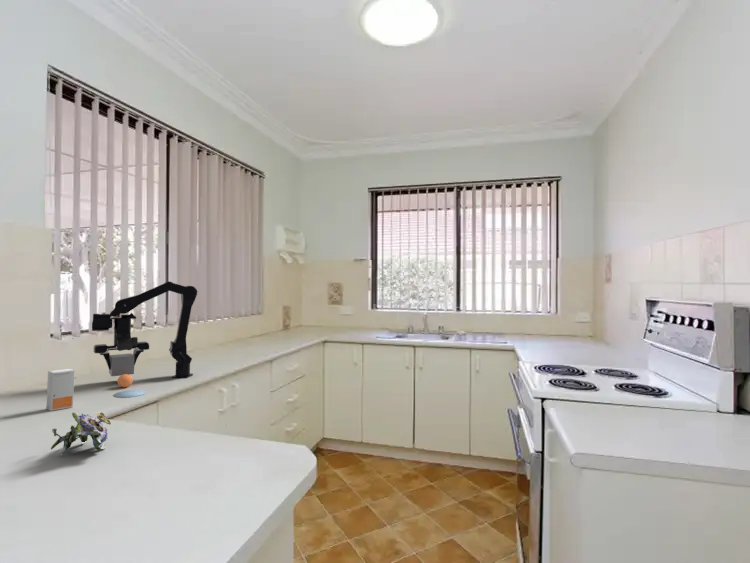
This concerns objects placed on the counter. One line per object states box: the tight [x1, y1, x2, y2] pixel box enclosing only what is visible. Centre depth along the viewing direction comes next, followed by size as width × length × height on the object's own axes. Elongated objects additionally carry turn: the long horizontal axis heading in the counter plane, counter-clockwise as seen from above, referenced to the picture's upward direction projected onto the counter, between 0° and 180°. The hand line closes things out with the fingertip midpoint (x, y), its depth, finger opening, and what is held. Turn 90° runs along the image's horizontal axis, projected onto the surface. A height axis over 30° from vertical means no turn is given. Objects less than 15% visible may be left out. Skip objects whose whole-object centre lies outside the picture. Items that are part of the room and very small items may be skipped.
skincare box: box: [45, 368, 75, 412], centre depth 129 cm, size 6×4×12 cm
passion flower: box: [50, 412, 112, 455], centre depth 96 cm, size 11×11×12 cm
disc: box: [113, 389, 147, 399], centre depth 147 cm, size 10×10×1 cm
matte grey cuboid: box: [108, 352, 135, 377], centre depth 165 cm, size 8×8×7 cm
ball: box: [117, 374, 134, 388], centre depth 157 cm, size 5×5×5 cm
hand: (121, 368), depth 165 cm, fingers closed on matte grey cuboid, 8 cm apart
